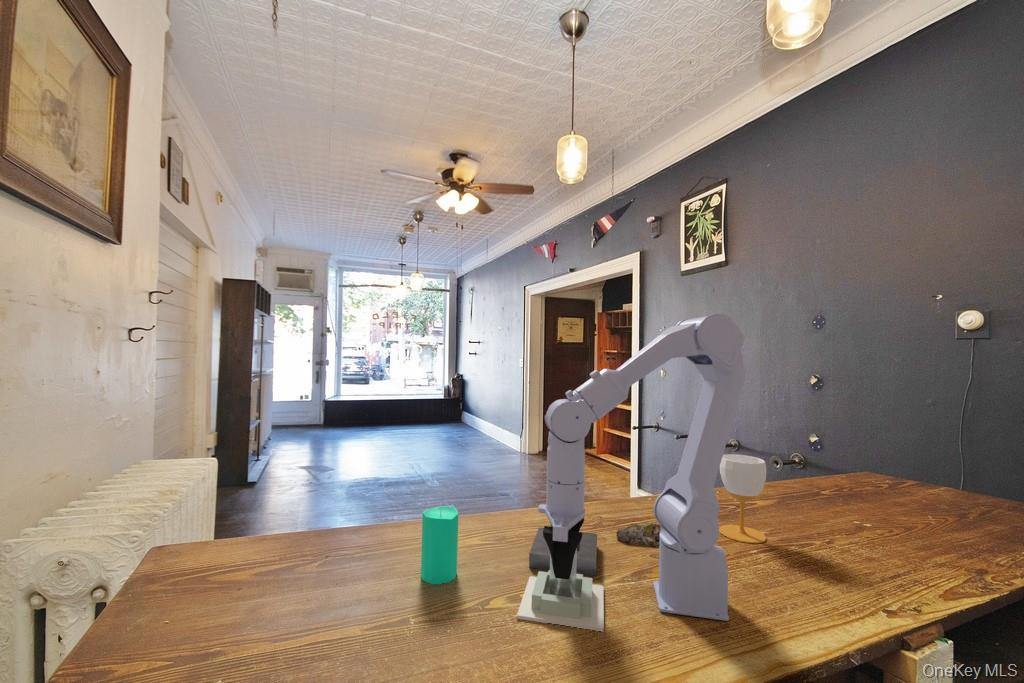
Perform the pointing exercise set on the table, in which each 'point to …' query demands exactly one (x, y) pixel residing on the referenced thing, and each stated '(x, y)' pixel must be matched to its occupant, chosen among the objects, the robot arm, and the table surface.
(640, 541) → the mineral rock
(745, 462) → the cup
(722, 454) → the robot arm
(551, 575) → the smooth metal cylinder
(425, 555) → the candle
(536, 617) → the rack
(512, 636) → the table surface
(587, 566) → the socket block
